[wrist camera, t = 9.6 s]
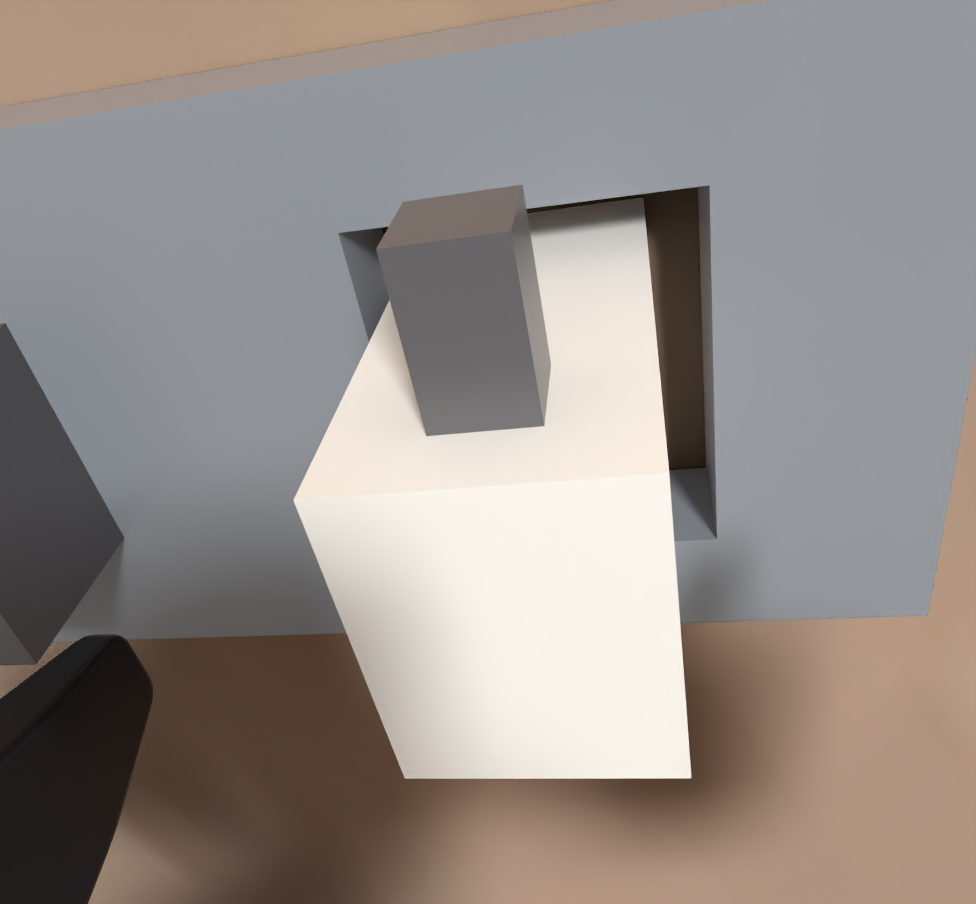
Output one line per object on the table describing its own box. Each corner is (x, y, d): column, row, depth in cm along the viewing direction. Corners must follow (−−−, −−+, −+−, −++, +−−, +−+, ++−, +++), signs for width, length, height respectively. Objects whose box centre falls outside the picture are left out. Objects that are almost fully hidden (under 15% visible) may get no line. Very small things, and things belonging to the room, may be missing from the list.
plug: (476, 451, 16) (404, 778, 10) (394, 98, 12) (216, 309, 7) (661, 436, 15) (691, 777, 10) (632, 57, 12) (653, 256, 6)
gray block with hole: (-76, 584, 20) (-244, 766, 16) (-389, 174, 15) (-765, 299, 11) (895, 538, 16) (991, 770, 12) (979, -64, 10) (1212, -5, 6)
